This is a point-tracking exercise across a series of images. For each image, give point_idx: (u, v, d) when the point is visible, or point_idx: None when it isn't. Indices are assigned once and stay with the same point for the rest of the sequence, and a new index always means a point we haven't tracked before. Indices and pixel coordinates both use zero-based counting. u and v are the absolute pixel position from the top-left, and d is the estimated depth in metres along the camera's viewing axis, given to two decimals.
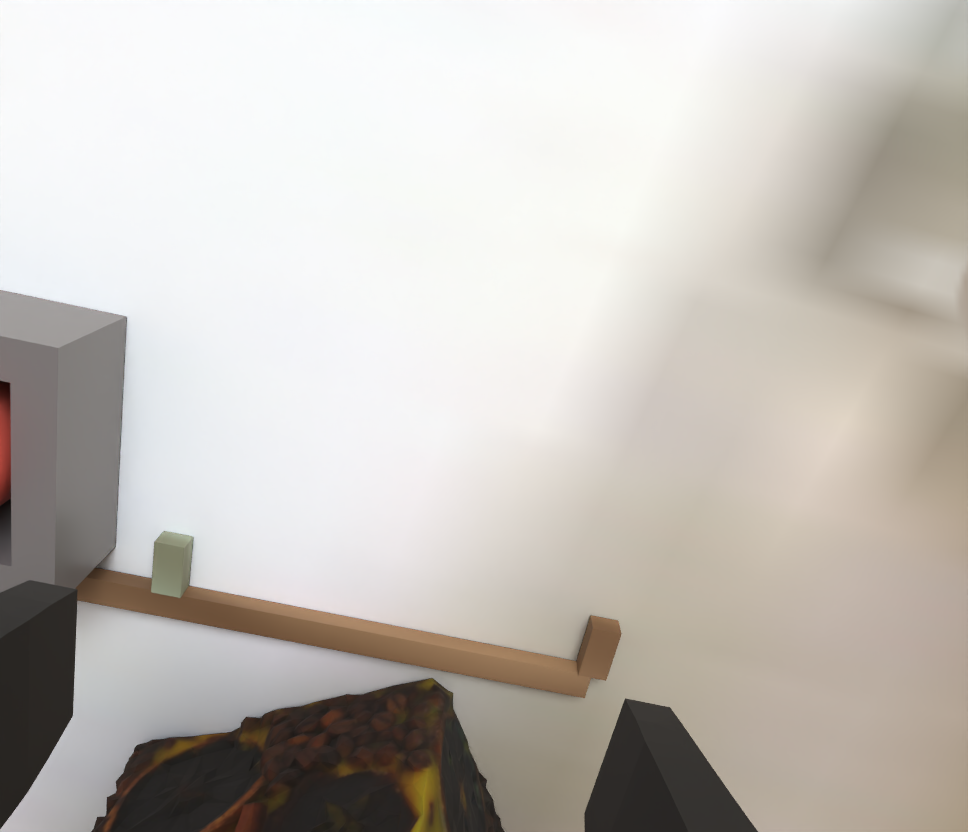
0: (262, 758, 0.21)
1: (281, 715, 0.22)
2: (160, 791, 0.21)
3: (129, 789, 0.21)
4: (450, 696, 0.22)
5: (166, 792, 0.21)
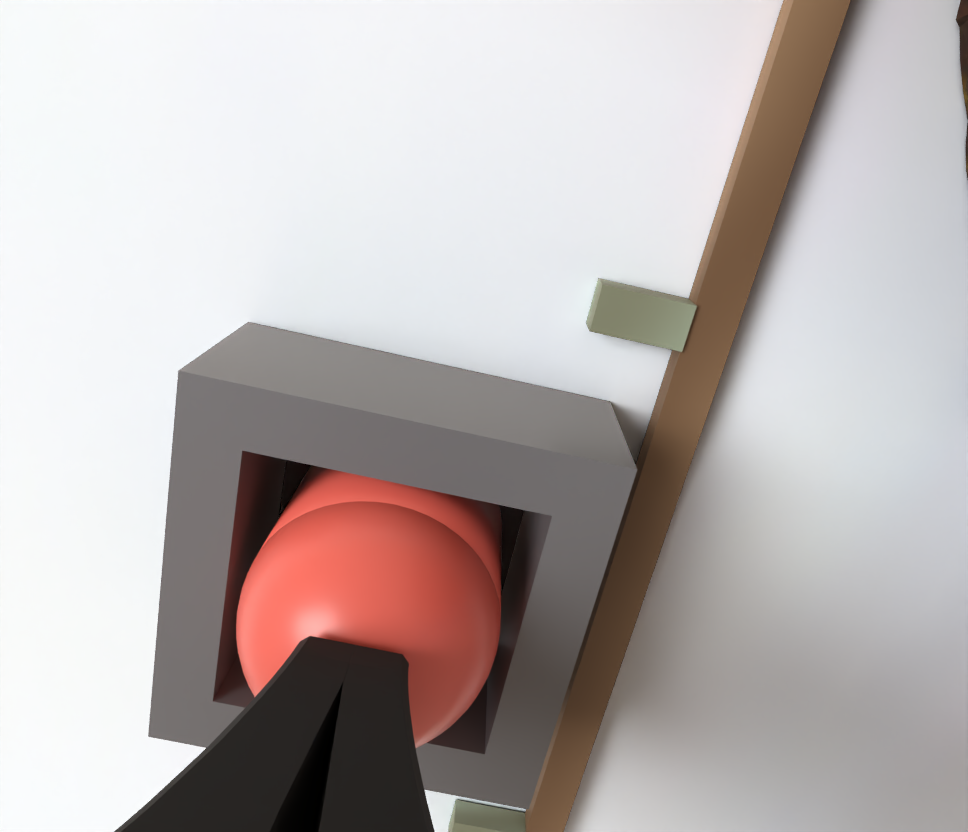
0: None
1: None
2: None
3: None
4: None
5: None
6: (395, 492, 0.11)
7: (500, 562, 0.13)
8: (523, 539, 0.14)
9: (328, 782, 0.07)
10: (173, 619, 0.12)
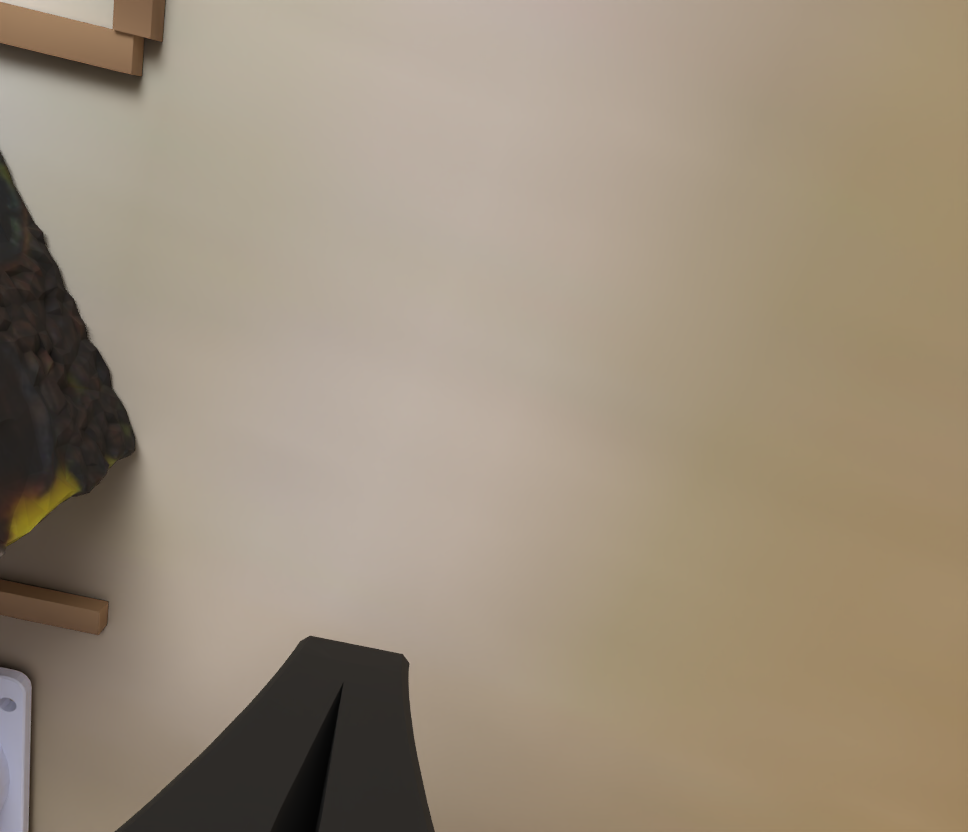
0: None
1: None
2: None
3: None
4: None
5: None
6: None
7: None
8: None
9: (328, 782, 0.07)
10: None
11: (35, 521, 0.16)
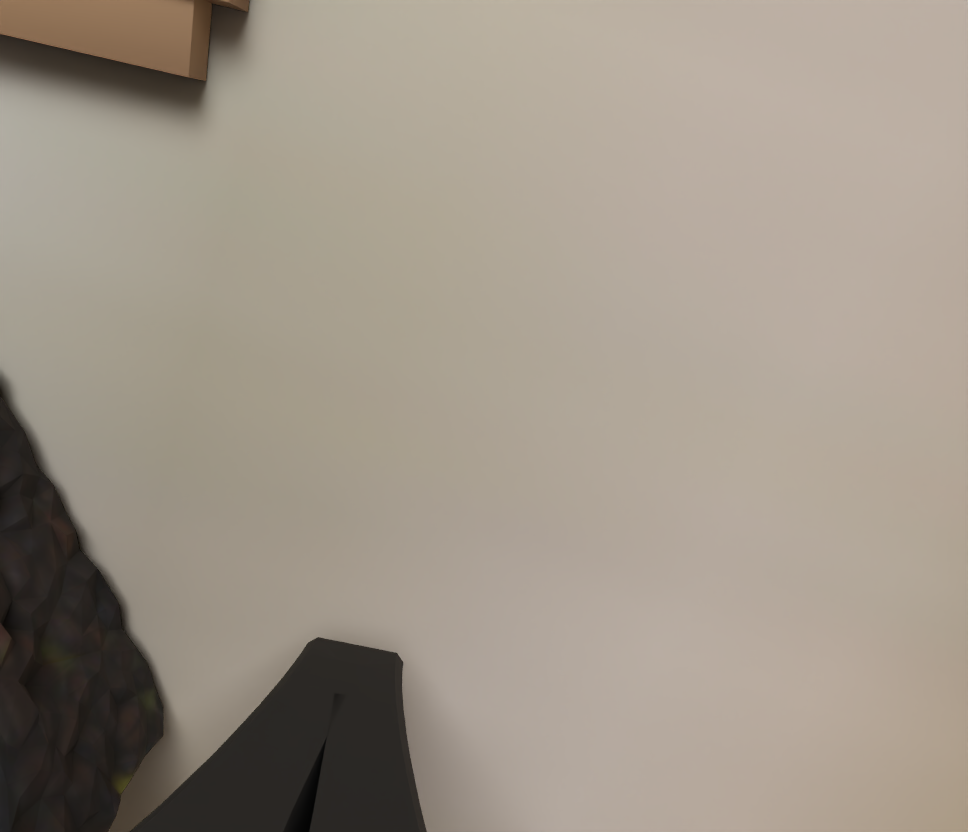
0: None
1: None
2: None
3: None
4: None
5: None
6: None
7: None
8: None
9: (319, 780, 0.07)
10: None
11: None
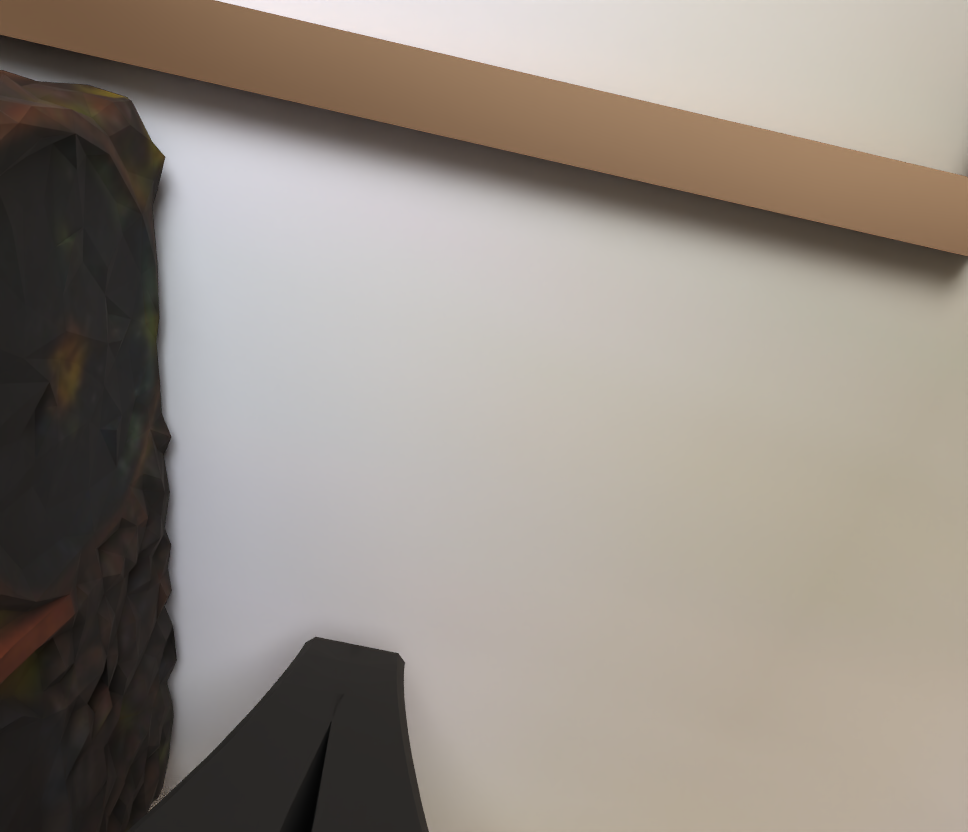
0: None
1: None
2: None
3: None
4: (153, 149, 0.08)
5: None
6: None
7: None
8: None
9: (322, 781, 0.07)
10: None
11: None
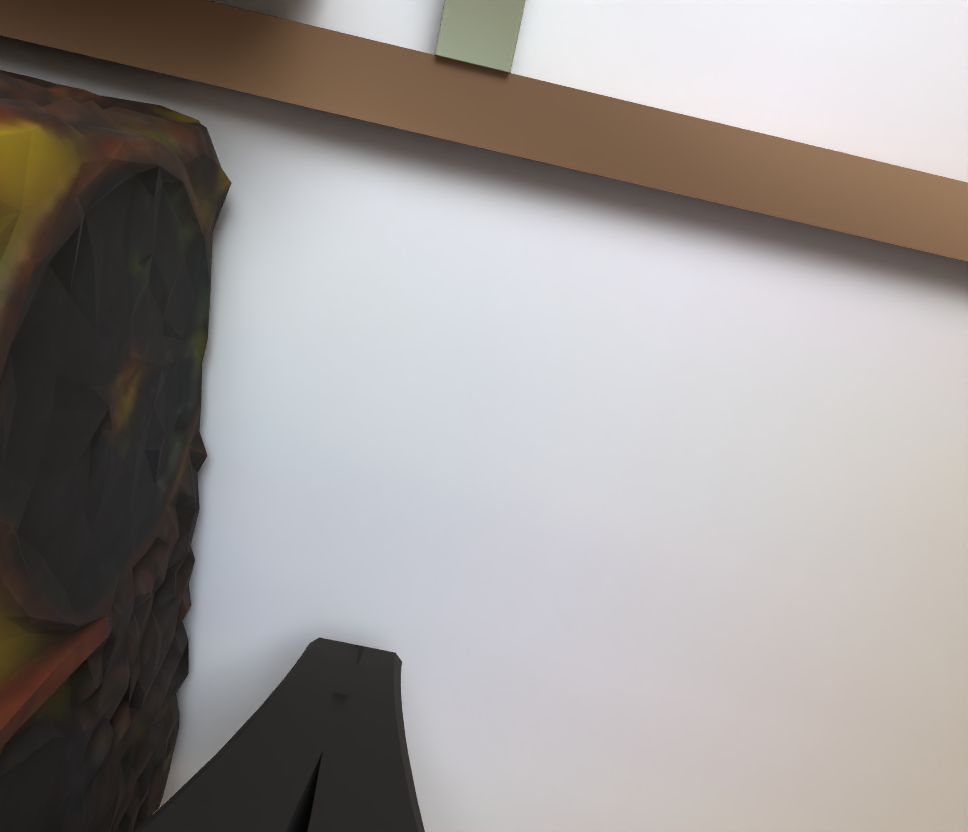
0: None
1: None
2: None
3: None
4: (221, 175, 0.08)
5: None
6: None
7: None
8: None
9: (318, 780, 0.07)
10: None
11: None
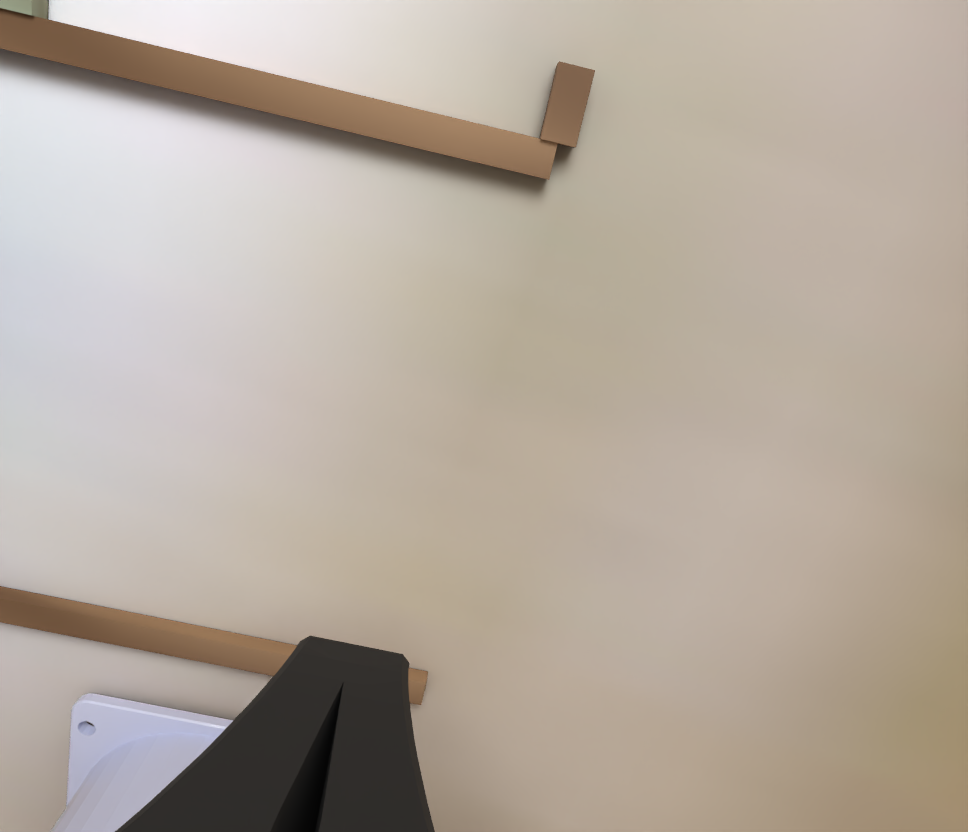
0: None
1: None
2: None
3: None
4: None
5: None
6: None
7: None
8: None
9: (328, 782, 0.07)
10: None
11: None
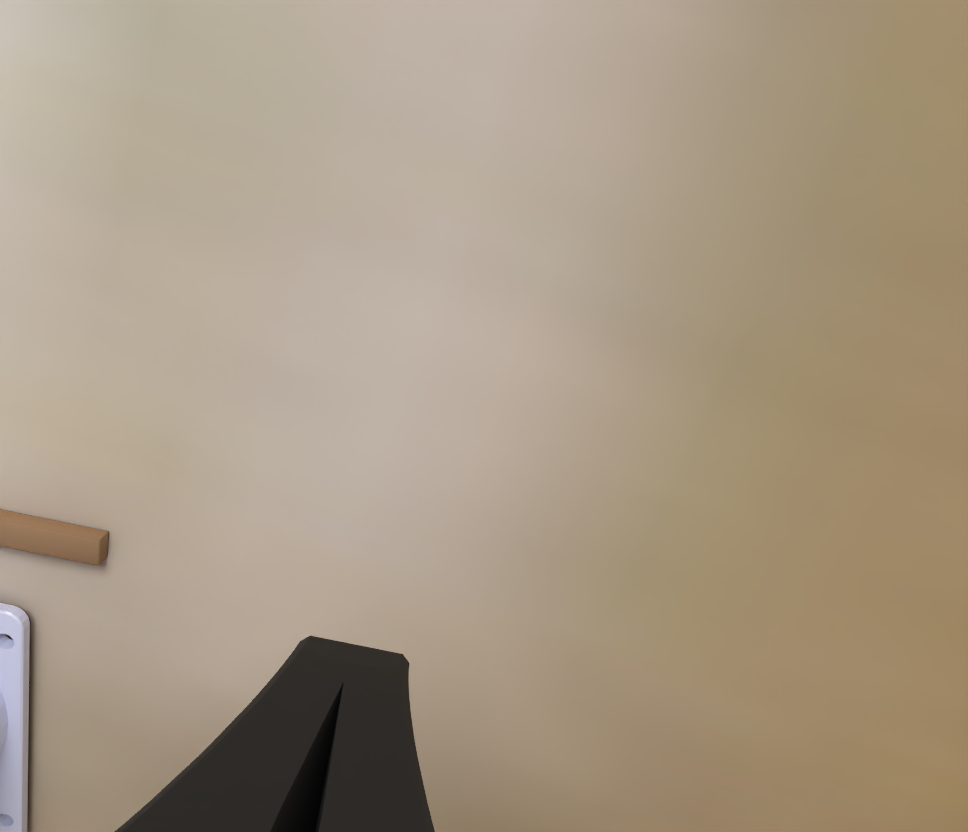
0: None
1: None
2: None
3: None
4: None
5: None
6: None
7: None
8: None
9: (328, 782, 0.07)
10: None
11: None
